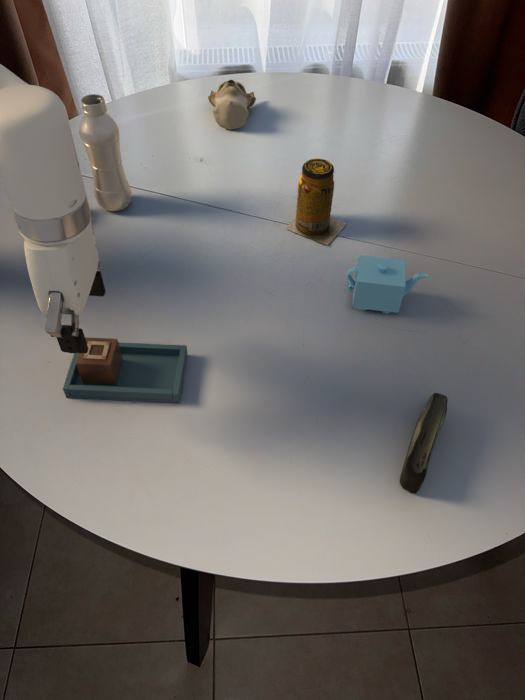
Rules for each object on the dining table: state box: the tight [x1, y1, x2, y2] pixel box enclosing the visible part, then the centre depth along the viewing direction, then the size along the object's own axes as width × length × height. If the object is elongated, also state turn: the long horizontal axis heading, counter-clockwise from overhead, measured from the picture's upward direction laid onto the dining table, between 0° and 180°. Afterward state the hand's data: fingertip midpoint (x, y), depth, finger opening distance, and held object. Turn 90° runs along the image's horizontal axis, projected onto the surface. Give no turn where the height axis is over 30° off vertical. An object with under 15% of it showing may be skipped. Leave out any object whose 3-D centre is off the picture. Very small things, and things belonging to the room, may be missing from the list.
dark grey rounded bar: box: [399, 392, 449, 495], centre depth 74 cm, size 5×3×15 cm
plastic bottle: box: [78, 93, 132, 212], centre depth 99 cm, size 6×7×20 cm
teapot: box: [346, 254, 429, 315], centre depth 89 cm, size 12×6×8 cm, turn 82°
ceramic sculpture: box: [207, 79, 257, 131], centre depth 125 cm, size 11×9×15 cm
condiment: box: [285, 158, 347, 246], centre depth 99 cm, size 7×8×12 cm
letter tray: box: [62, 341, 189, 404], centre depth 81 cm, size 16×9×2 cm, turn 88°
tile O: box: [76, 336, 123, 385], centre depth 80 cm, size 5×5×5 cm
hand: (84, 321), depth 74 cm, fingers open, 9 cm apart
